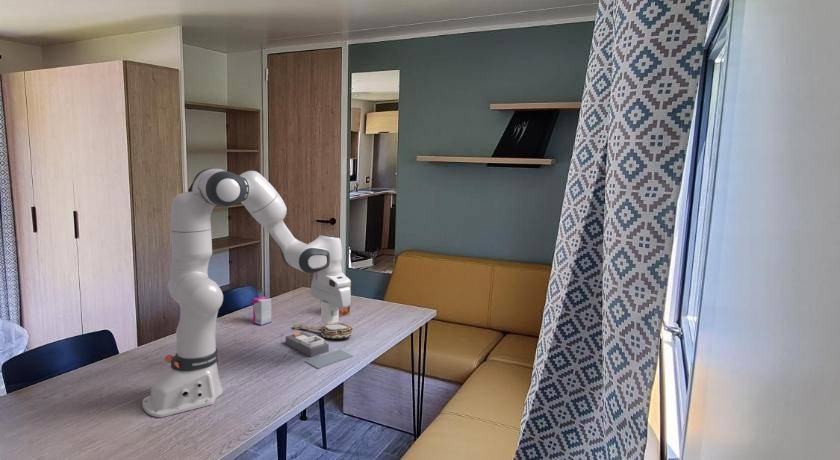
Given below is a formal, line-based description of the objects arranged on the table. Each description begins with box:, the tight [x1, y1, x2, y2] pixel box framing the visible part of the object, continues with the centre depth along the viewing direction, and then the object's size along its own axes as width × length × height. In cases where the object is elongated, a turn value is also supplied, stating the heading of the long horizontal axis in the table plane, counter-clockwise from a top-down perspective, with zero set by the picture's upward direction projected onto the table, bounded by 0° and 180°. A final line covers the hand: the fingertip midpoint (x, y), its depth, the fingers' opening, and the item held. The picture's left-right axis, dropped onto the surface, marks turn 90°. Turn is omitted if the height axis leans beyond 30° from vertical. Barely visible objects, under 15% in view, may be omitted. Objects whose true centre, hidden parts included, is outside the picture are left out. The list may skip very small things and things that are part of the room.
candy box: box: [339, 284, 352, 317], centre depth 230 cm, size 9×4×15 cm, turn 134°
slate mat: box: [304, 349, 354, 370], centre depth 181 cm, size 16×8×1 cm, turn 137°
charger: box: [320, 300, 340, 325], centre depth 179 cm, size 5×4×8 cm
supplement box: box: [252, 296, 272, 327], centre depth 216 cm, size 6×6×12 cm
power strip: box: [285, 331, 330, 358], centre depth 191 cm, size 8×18×4 cm, turn 47°
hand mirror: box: [292, 322, 354, 339], centre depth 207 cm, size 11×6×30 cm
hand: (329, 313), depth 179 cm, fingers closed on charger, 4 cm apart
